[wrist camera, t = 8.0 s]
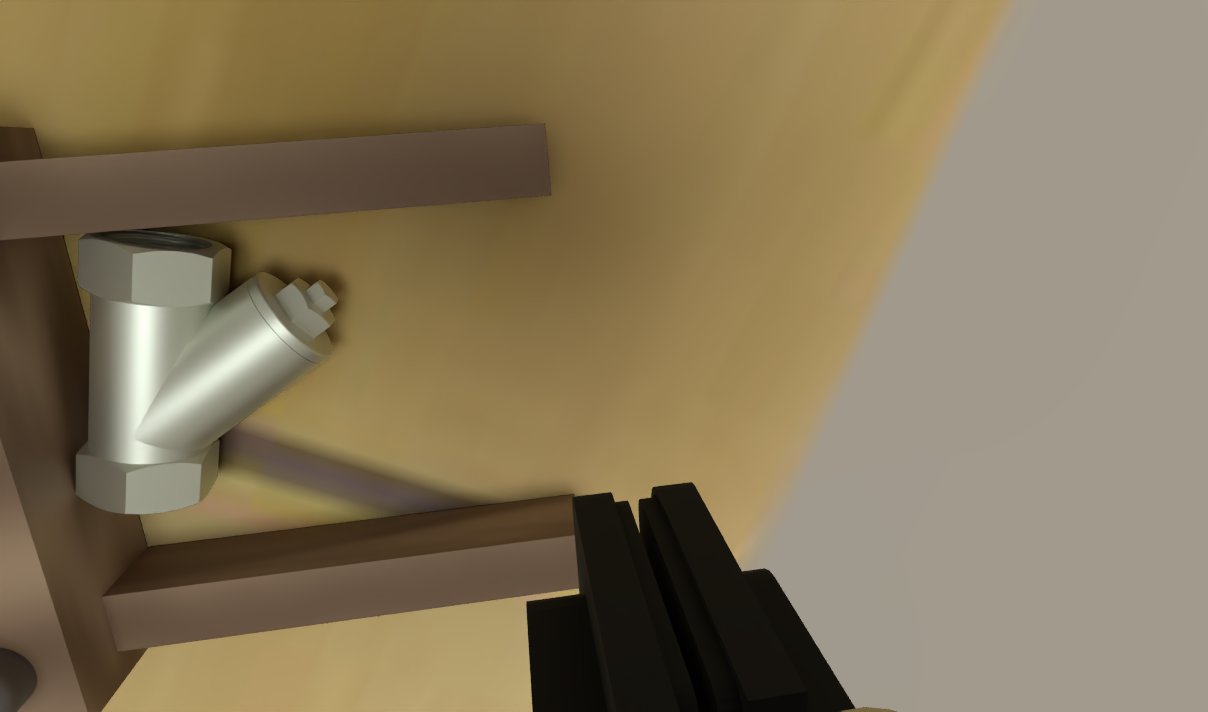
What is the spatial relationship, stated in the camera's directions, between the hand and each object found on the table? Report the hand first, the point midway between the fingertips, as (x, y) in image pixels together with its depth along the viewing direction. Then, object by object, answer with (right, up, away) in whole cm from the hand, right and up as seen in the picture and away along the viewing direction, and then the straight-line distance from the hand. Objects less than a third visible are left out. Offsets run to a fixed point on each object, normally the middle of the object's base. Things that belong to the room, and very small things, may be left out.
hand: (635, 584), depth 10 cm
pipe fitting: (-13, +3, +15) cm, 20 cm away
